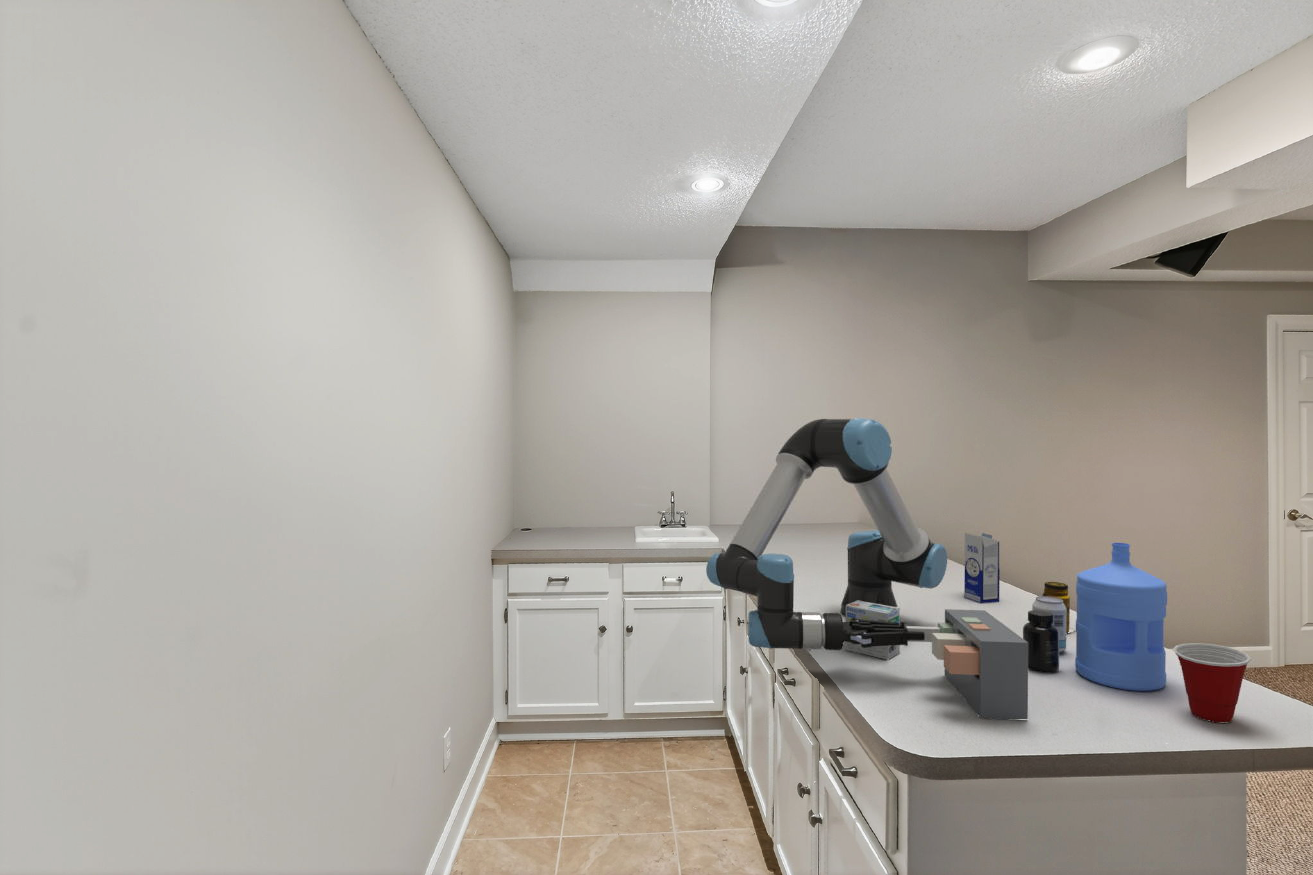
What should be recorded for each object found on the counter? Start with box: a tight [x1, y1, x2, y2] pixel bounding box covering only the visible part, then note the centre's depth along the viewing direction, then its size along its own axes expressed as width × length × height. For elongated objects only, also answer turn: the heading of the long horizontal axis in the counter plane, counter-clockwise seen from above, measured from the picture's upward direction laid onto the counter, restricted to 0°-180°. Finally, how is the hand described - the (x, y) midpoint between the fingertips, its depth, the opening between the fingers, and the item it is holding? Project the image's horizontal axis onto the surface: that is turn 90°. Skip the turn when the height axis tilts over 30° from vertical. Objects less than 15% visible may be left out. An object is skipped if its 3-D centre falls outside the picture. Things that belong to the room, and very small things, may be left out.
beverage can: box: [1031, 595, 1067, 654], centre depth 158 cm, size 7×7×12 cm
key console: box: [943, 608, 1029, 720], centre depth 132 cm, size 8×21×14 cm, turn 174°
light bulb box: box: [845, 600, 901, 661], centre depth 158 cm, size 11×7×11 cm, turn 48°
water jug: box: [1074, 542, 1168, 692], centre depth 141 cm, size 16×16×28 cm
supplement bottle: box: [1022, 610, 1060, 674], centre depth 147 cm, size 7×7×12 cm
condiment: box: [1042, 581, 1076, 633], centre depth 173 cm, size 7×8×12 cm
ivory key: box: [931, 633, 966, 661], centre depth 132 cm, size 7×4×4 cm, turn 84°
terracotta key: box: [943, 645, 980, 675], centre depth 125 cm, size 7×4×4 cm, turn 84°
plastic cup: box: [1172, 642, 1252, 723], centre depth 122 cm, size 11×11×12 cm
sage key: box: [937, 622, 953, 634], centre depth 139 cm, size 7×4×4 cm, turn 84°
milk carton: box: [963, 532, 1001, 604], centre depth 203 cm, size 7×7×20 cm
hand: (938, 634), depth 140 cm, fingers closed
